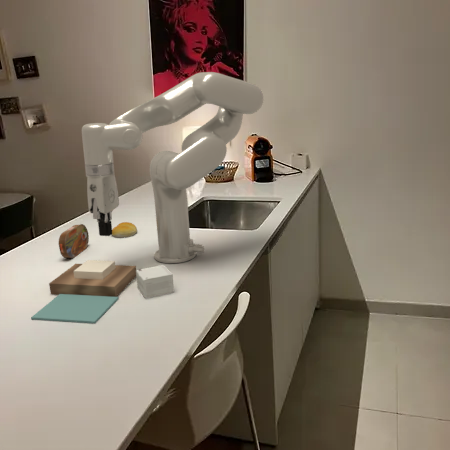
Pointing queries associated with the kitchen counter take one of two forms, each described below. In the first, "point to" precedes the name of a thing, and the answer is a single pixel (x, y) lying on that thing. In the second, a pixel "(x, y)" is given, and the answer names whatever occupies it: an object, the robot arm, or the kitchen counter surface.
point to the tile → (94, 269)
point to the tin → (73, 241)
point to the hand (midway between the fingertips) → (105, 234)
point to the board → (94, 282)
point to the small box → (154, 281)
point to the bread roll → (124, 230)
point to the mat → (75, 308)
